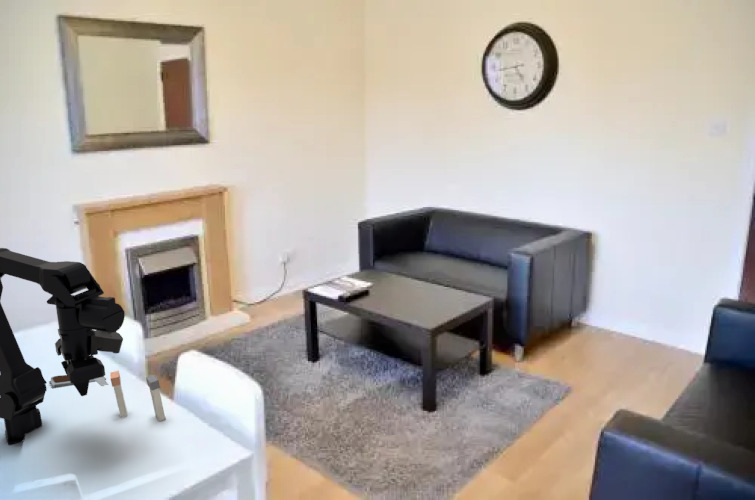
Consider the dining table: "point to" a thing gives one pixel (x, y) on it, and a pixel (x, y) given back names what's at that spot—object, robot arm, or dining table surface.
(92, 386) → the dining table surface
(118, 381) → the lever
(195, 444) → the dining table surface
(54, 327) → the dining table surface
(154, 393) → the lever
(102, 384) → the handgun
